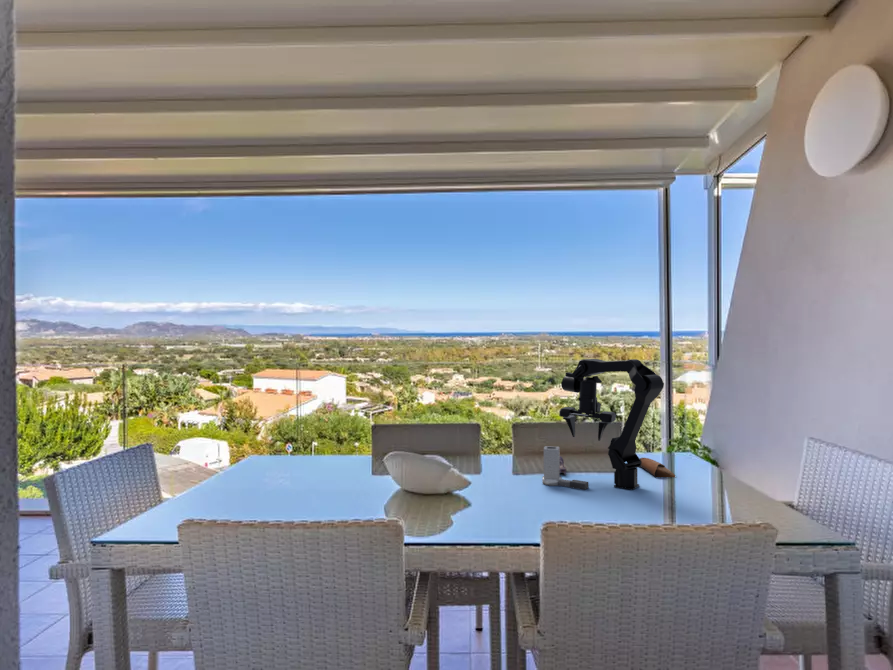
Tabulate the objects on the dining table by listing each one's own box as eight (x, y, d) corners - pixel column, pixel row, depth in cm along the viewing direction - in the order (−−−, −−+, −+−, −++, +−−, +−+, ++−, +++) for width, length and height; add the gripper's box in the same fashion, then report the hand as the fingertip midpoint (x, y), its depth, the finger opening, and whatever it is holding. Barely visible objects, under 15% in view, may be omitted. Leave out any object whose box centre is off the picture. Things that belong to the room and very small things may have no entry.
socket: (559, 476, 204) (559, 446, 204) (559, 479, 199) (558, 449, 199) (544, 475, 205) (544, 446, 205) (543, 478, 200) (543, 449, 200)
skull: (570, 476, 212) (570, 459, 212) (549, 476, 212) (549, 459, 212) (562, 468, 224) (562, 452, 224) (542, 468, 224) (542, 452, 224)
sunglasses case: (679, 477, 208) (669, 461, 208) (661, 488, 208) (652, 471, 208) (658, 465, 226) (649, 450, 226) (643, 475, 226) (634, 460, 226)
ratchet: (590, 486, 197) (590, 473, 197) (582, 491, 192) (582, 477, 192) (547, 480, 207) (547, 467, 207) (539, 484, 202) (538, 470, 202)
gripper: (621, 394, 212) (619, 438, 213) (570, 389, 222) (569, 431, 222) (611, 398, 202) (610, 444, 203) (559, 393, 212) (558, 436, 213)
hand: (586, 438), depth 211 cm, fingers open, 9 cm apart
